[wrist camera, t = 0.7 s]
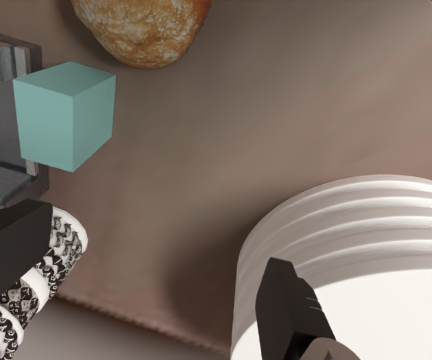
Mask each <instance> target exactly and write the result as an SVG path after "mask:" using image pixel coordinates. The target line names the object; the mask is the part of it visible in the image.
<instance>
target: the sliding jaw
mask: <svg viewBox="0 0 432 360" xmlns="http://www.w3.org/2000/svg"><path fill="white" fill-rule="evenodd" d="M13 78H17V70H16V61H15V51H14V45H11V44H7V43H4V42H1V41H0V83H1V82H4V81H7V80H10V79H13Z"/></svg>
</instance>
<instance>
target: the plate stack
mask: <svg viewBox="0 0 432 360" xmlns="http://www.w3.org/2000/svg"><path fill="white" fill-rule="evenodd" d="M270 257H274V258H278V259H282V260H286V261H291V262H292V264H293V266H294V269H295V271H296V274H297V276H298V277H299V278H303V279H304V280H305V281H306V282H307V283H308V284H309V285H310V286H311V287H312V288H313V290H314V292H315V294H316V296H317V298H318V302H319V303H320V305H321V307H322V311H323V312H324V314H325V316H326V318H327V320H328V323H329V325H330V327H331V329H332V331H333V334H334V336H335V338H336V340H337V341H338V342H340V343H342V344H343V345H345V346H346V347H348V348H349V349H351V350H352V351H353V352H354V353H355V354H356V355H357V356H358V357H359V358H360V360H432V180H427V179H423V178H418V177H412V176H403V175H366V176H357V177H350V178H345V179H340V180H336V181H332V182H328V183H325V184H322V185H319V186H316V187H313V188H311V189H308V190H306V191H303V192H301V193H299V194H297V195H295V196H293V197H291V198H290V199H288V200H286V201H284V202H283V203H281V204H280V205H278V206H277V207H275V208H274V209H273V210H272V211H270V212H269V213H268V214H267V215H266V216H264V217H263V218H262V219H261V220H260V221H259V222H258V223H257V225H256V226H255V227H254V228H253V229H252V231H251V232H250V233H249V235H248V236H247V238H246V240H245V242H244V244H243V246H242V248H241V251H240V254H239V258H238V263H237V275H236V287H235V301H234V319H233V327H232V346H231V353H230V360H262V356H261V349H260V342H259V334H258V327H257V320H256V313H255V302H256V296H257V292H258V289H259V286H260V283H261V280H262V277H263V274H264V271H265V268H266V265H267V262H268V260H269V258H270Z"/></svg>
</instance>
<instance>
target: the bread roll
mask: <svg viewBox="0 0 432 360" xmlns="http://www.w3.org/2000/svg"><path fill="white" fill-rule="evenodd" d="M211 1H212V0H71V3H72V5H73V7H74V11H75V15H76V16H77V17H78V18H79V19H80V20H81V21H82V22H83V23H84V24H85V25H86V27H87V28H88V29H90V30H91V31H92V34H93V36H94V37H95V38H96V39H97V40H98V42H99V43H100V44H101V45H102V46H103V47H104V48H105V50H106V51H108V52H109V53H110V54H111V55H112V56H114V57H115V58H116V59H117V60H118V61H120V62H122V63H124V64H126V65H128V66H131V67H134V68H139V69H148V70H151V69H160V68H163V67H166V66H169V65H171V64H173V63H175V62H176V61H178V60H179V59H180V58H181V56H182V55H183V54H185V53H187V51H188V49H189V47H190V45H192V44H193V41H194V38H195V36H196V35H197V32H198V29H199V28H201V27H202V26H203V21H204V20H205V18H206V15H207V12H208V9H209V7H210V6H211Z"/></svg>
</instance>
